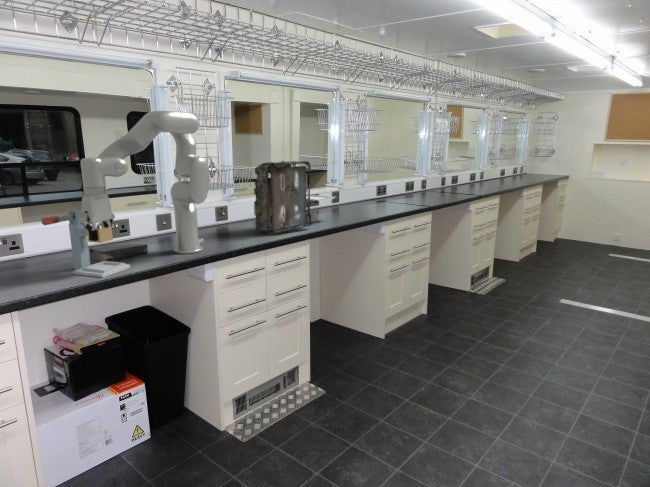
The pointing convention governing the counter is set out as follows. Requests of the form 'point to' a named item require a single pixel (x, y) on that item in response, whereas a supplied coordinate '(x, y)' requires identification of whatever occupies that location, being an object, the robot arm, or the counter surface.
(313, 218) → the solar panel model
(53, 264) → the counter surface
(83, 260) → the press
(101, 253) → the stone block
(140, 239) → the counter surface
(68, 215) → the lever
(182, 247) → the robot arm
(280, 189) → the machinery component
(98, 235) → the housing
